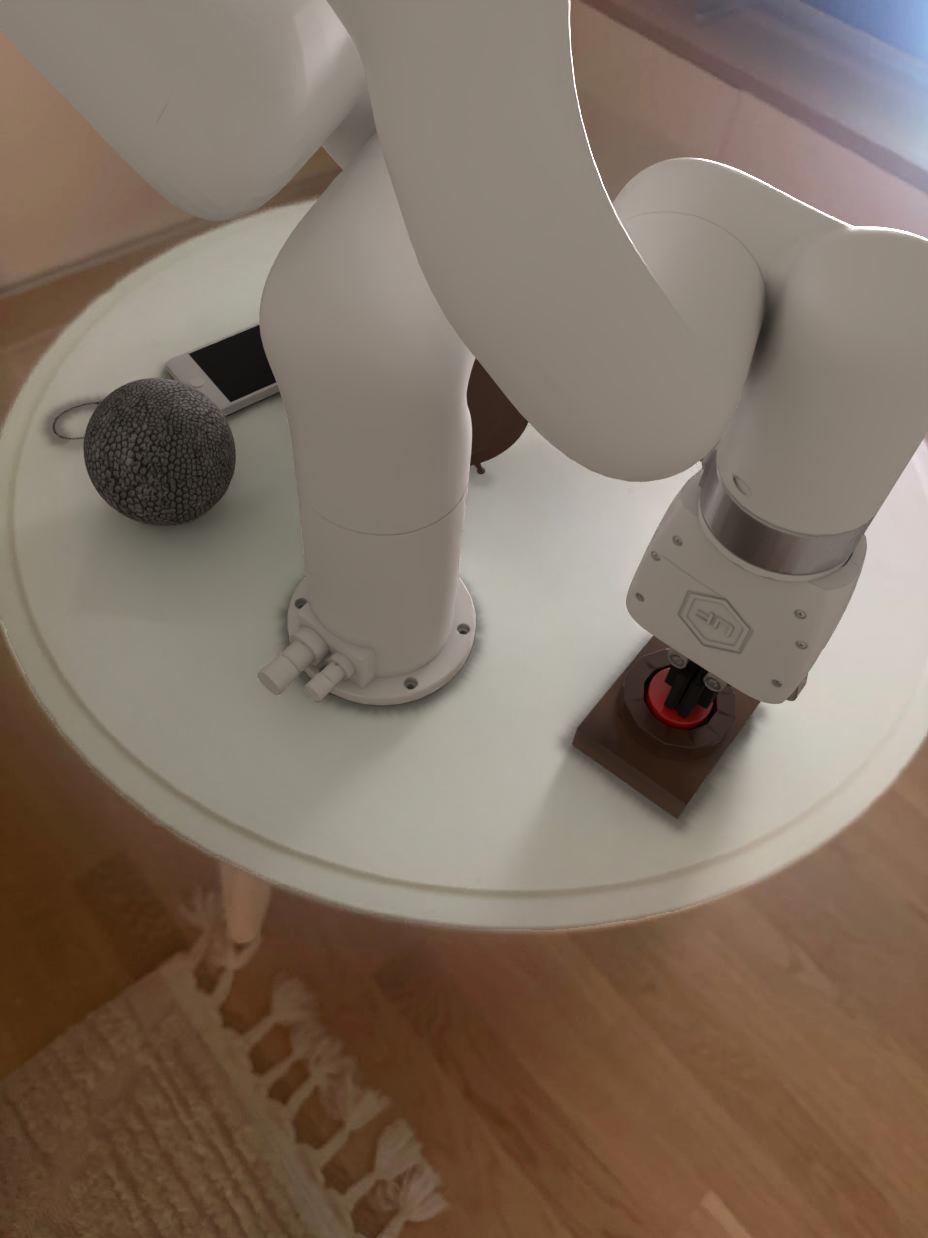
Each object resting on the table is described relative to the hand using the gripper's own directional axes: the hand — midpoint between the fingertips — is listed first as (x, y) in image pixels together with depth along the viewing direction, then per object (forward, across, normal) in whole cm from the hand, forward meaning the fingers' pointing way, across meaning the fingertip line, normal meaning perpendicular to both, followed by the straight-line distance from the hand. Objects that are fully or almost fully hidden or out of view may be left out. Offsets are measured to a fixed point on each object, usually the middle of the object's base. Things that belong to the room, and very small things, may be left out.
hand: (686, 696), depth 60 cm
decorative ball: (+4, -38, -8) cm, 39 cm away
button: (+2, 0, 0) cm, 2 cm away
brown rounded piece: (+4, -27, +9) cm, 29 cm away
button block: (+4, 0, 0) cm, 4 cm away
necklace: (+4, -48, -6) cm, 49 cm away
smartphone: (+4, -43, +8) cm, 44 cm away
